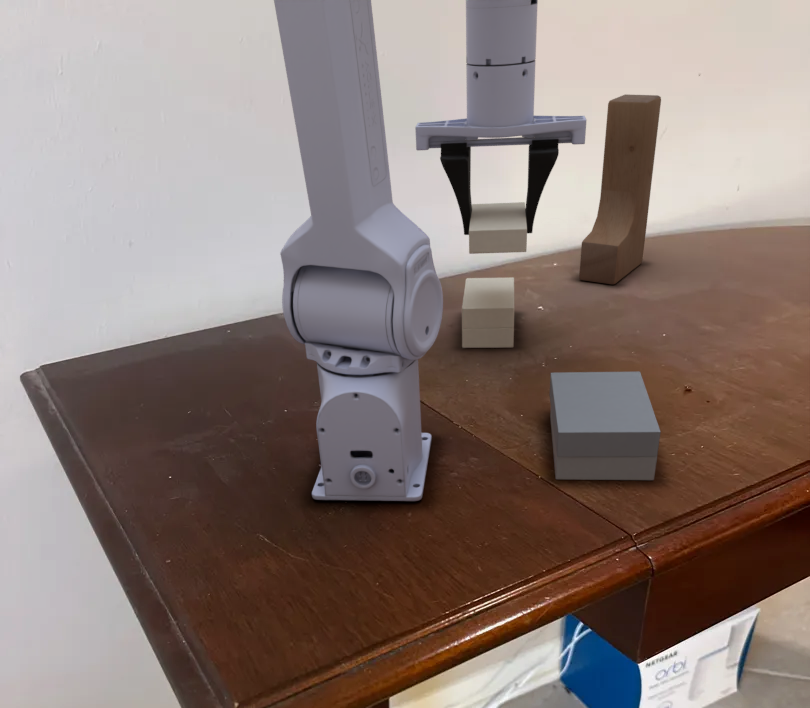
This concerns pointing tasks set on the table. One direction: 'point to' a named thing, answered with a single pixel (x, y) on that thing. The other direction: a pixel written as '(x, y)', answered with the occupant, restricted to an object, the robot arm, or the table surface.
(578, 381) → the grey book
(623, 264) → the wooden block
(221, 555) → the table surface
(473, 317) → the white book
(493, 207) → the beige rectangular block
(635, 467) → the grey book
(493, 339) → the white book
